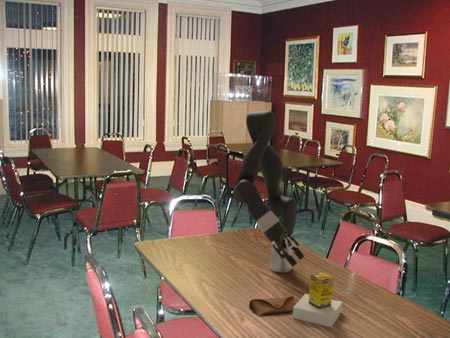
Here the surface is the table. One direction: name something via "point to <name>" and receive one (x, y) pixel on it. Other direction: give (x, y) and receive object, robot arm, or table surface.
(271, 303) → the sunglasses case
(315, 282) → the supplement box
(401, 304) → the table surface
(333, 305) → the plate
